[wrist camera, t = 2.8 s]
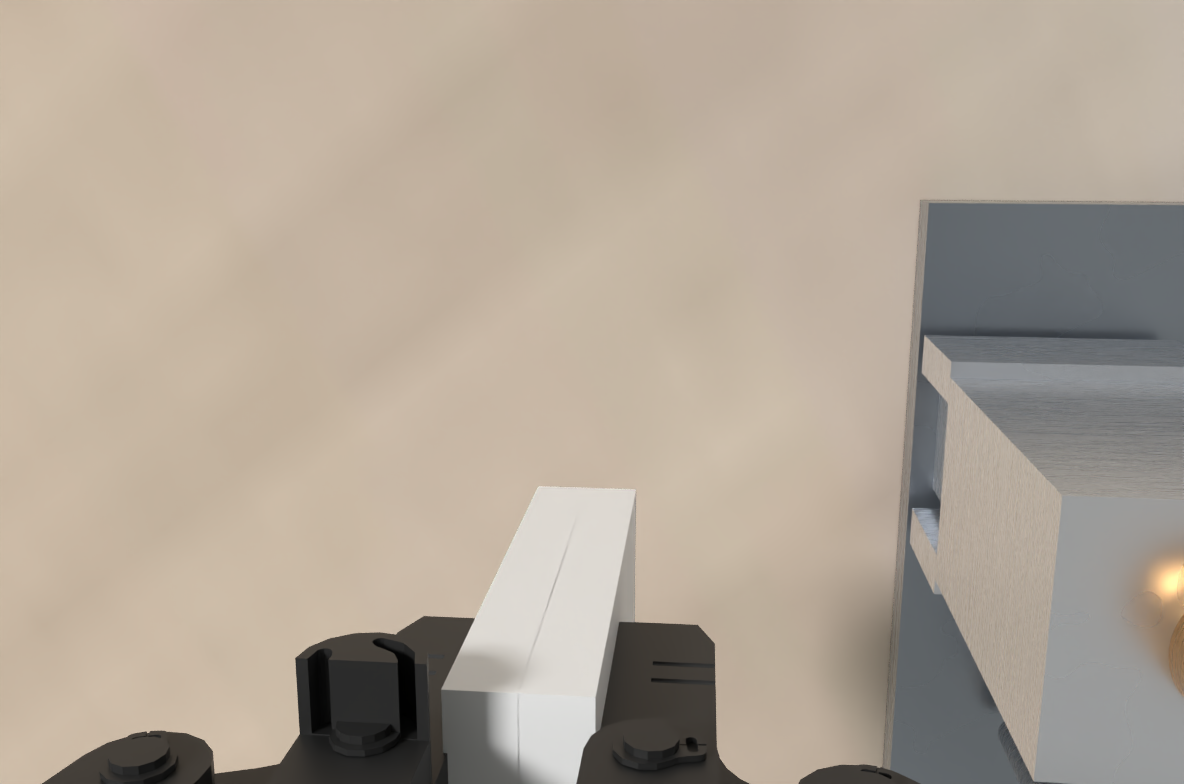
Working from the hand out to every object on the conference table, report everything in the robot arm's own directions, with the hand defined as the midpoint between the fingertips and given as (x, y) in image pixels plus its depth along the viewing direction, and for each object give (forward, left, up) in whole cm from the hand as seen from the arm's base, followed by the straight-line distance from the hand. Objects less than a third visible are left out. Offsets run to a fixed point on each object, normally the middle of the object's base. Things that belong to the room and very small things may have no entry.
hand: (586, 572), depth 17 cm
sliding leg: (-9, +2, -8) cm, 12 cm away
